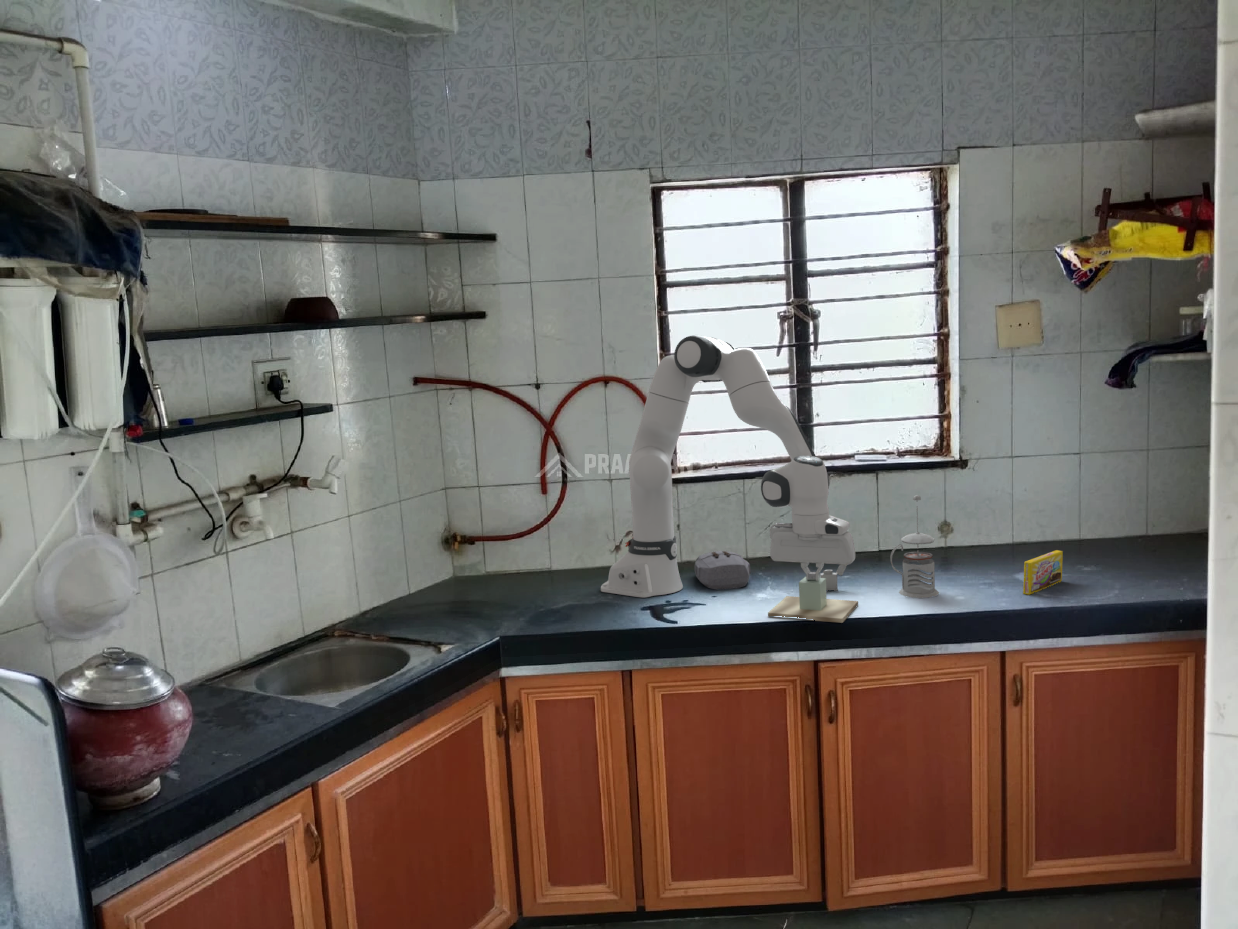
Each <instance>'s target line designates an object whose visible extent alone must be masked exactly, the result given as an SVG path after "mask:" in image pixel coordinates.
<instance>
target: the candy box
mask: <svg viewBox="0 0 1238 929" xmlns="http://www.w3.org/2000/svg"><path fill="white" fill-rule="evenodd" d="M1063 552H1064V551H1063V550H1058V549H1056V550H1053V551H1050V552H1047V553H1045V554H1041V555H1040V556H1037V557H1034V558H1031V559H1029V560H1026V561H1024V565H1023V585H1022V586H1023V588H1022V589H1023V590H1022V595H1027V596H1030V595H1033V594H1035V593H1037V592H1040V591H1042V589H1043V590H1045V589H1047V587H1048V588H1049V586H1050V587H1052V586H1054V584H1055V585H1056V583H1057V584H1059V583H1062V582H1061V581H1063V560H1064V558H1063V557H1064V555H1063ZM1058 582H1059V583H1058ZM1051 585H1052V586H1051ZM1034 592H1035V593H1034Z"/></svg>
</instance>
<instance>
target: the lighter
mask: <svg viewBox="0 0 1238 929" xmlns="http://www.w3.org/2000/svg"><path fill="white" fill-rule="evenodd" d="M847 566H848V565H846V564H838V567H837V569H836V572H833V569H825V570H823V572H822V573H821V572H820V578H826V590H827V591H826V592H828V590H834V591H838V576H840V577H842V576H843V574H844V573H845V571H846V569H847Z"/></svg>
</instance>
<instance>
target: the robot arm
mask: <svg viewBox="0 0 1238 929" xmlns="http://www.w3.org/2000/svg"><path fill="white" fill-rule="evenodd" d="M700 381H701V382H703V383H716V382H718V383H719V382H723V384H724V386H725V389H726V391H727V395H728V398H729V401H730V403H731V406H732V408H733V411H734V413H735V415H736V416H737V417H738V419H739V420H740V421H742V422H744V423H745V424H747V425H749V426H752V427H757V428H760V429H763V430H767V431H768V432H770V433H773V434H774V435H775V436H777V437H778V438H779V439H780V441H781V442H782V444H783V446H784V448H785V450H786V452H787V454H788V456H789V458H790V462H788V463H787V464H785V465H783V466H780V467H777V468H774V469H771V470H767V472H765V473H764V474H763V476H762V479H761V482H760V492H761V495H762V499H763V500H764V501H765V502H766V504H768V505H769V506H770V507H772V508H785V507H790V508H791V522H789V523H788V522H785V523H781V522H775V524H772V525H770V527H769V538H770V539H771V540H770V547H769V548H770V550H769V551H770V552H769V555H770V556H769V557H770V558H771V560H772V561H774V562H790V563H800V567H801V569H802V570H803V573H804V574H805V577H806V580H811V581H819V580H820V573H821V571H822V569H823V568H824V566H825V564H830V565H840V564H846V565H847V566H849V565H851V564H852V563H853V562H854V561H855V559H856V547H855V542H854V537H853V535H852V533H850V532H849V529H850V522H849V521H848V520H845V519H842V518H839V517H837V516H833V515H831V514H830V508H829V506H828V497H829V490H830V482H831V481H830V476H829V474H828V472H827V467H826V464H825V462H824V461H823V459H821V458H820V457H817V456H816V454H815V452H814V450H813V448H812V446H811V443H810V442H809V441H808V438H807V436H806V434H805V432H804V431H803V429H802V426H801V425H800V422H799V420H798V419H797V417H796V416H795V414H794V412H793V411H792V410H791V409H790V408H789V407H788V406H787V405H786V404H784V402H783V401H782V400H781V398H779V396H778V394H777V392H776V390H775V388H774V387H773V384H772V381H771V379H770V377H769V374H768V372H767V369H766V367H765V366H764V364H763V361H762V360H761V358H760V357H759V355H758V354H757V352H756V351H755V350H754V349H752V348H750V347H739V348H735V347H734V346H733V345H732V344H730V343H728V342H726V341H723V340H721V339H718V338H715V337H712V336H709V337H708V336H704V335H699V334H695V335H689V336H686V337H684V338H683V339H680V341H679V342H678V343H677V345H676V346H675V349H674V354H671V355H667V356H664V357H663V358H662V359H661V360H660V362H659V364H658V365H657V368H656V370H655V372H654V375H653V377H652V380H651V382H650V386H649V390H648V393H647V398H646V401H645V403H644V404H645V405H644V408H643V411H642V415H641V419H640V422H639V426H638V427H637V428H638V430H637V432H636V436H635V439H634V442H633V446H632V448H631V453H630V457H629V460H628V471H629V484H630V485H629V486H630V500H631V501H630V502H631V518H632V535H633V536H632V538H631V539H628V541H626V542H625V543H624V544H625V546H624V547H625V548H628V550H627V552H626V553H625V554H623V555H622V556H621V557H620V558H619V559H618V560H617V561H615V562H614V563H613V564H612V565H611V566H610V568H609V571H608V572H609V573H608V579H607V581H605V582H604V583H602V584H601V586H600V592H602V593H608V594H617V595H622V596H630V597H636V598H650V597H653V596H654V597H655V596H661V595H662V596H664V595H667V594H672V593H673V594H674V593H676V592H679V591H681V590H682V589H684V586H683V582H682V580H681V577H680V576H681V575H680V573H679V567H678V561H677V558H678V557H677V556H678V553H677V552H678V547H677V546H678V545H677V537H676V536H675V527H674V526H675V525H674V507H673V503H674V500H673V477H672V476H673V475H672V473H673V472H672V464H671V463H672V459H673V456H674V451H675V449H676V446H677V443H678V440H679V437H680V434H681V432H682V429H683V425H684V422H685V417H686V414H687V411H688V406H689V403H690V401H691V396H692V392H693V389H694V386H696V385H697V383H698V382H700ZM810 563H811V564H815V567H816V568H817V569H816V571H811V570H810V568H809V567H808V566H809V565H810Z"/></svg>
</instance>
